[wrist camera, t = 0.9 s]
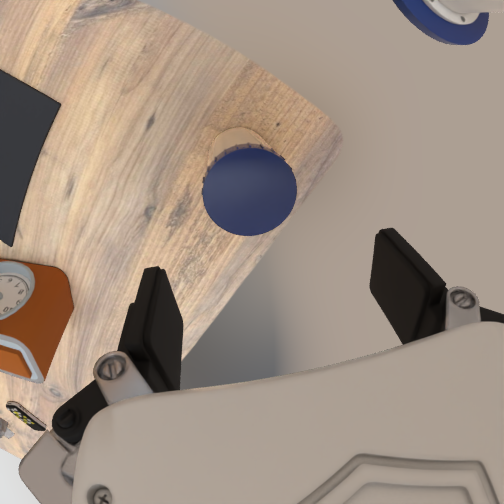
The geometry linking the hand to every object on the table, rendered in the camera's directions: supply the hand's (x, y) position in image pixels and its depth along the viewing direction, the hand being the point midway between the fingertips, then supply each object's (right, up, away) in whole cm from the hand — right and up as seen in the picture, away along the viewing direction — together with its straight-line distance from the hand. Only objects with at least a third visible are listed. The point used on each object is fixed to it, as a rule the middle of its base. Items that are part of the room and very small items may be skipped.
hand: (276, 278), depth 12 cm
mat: (-34, +14, +11) cm, 38 cm away
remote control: (-61, -42, +42) cm, 85 cm away
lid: (-1, +5, +8) cm, 10 cm away
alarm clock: (-32, -3, +22) cm, 39 cm away
